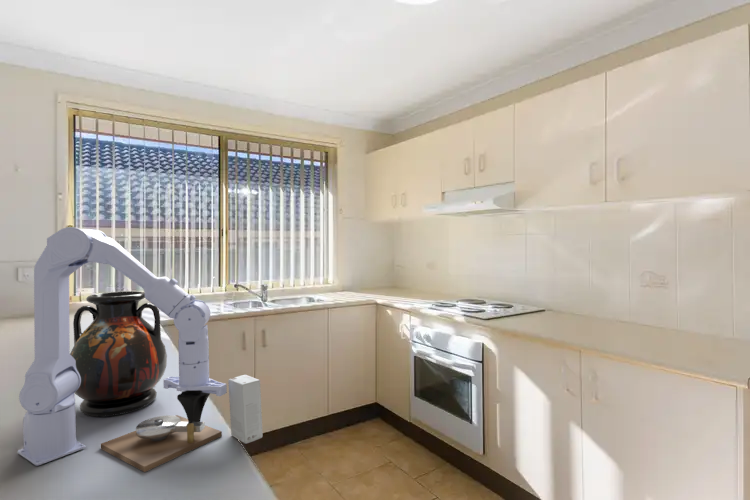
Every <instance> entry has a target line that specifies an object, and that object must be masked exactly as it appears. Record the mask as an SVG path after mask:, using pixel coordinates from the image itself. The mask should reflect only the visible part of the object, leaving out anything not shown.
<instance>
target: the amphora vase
mask: <svg viewBox="0 0 750 500" xmlns="http://www.w3.org/2000/svg"><path fill="white" fill-rule="evenodd" d="M144 299H145V293H144V291H138V290H137V291H133V290H132V291H131V290H130V291H129V290H126V291H111V292H103V293H102V292H101V293H94V294H91V295H88V296H87V297H86V298H85V300H86V302H88V303H90V304H93V305H95V308H94V306H91V305H82V306H80V307H79V308H78V309H77V310H76V312H74V315H73V322H72V325H73V327H72V329H73V345H74V346H73V347H72V349H71V350H70V355H71V356H72V357H73V358H74V359H75V360H76V369H77V371H78V372H79V374H80V376H81V384H80V387H79V388H78V390H77V391H76V392H75V393H74V395H76V396H77V397H79V398H80V399H82V401H81V402H80V404H79V410H80V412H81V413H83V414H84V415H87V416H91V417H101V418H102V417H113V416H119V415H120V416H121V415H124V414H128V413H131V412H134V411H138V410H140V409H142V408H145V407H146V406H148V405H150V404H151V403H152V402H154V401H155V400H156V399H157V393H158V392H157V391H156V389H155V388H154V387H156V386H157V384H158V383H159V382H160V381H161V380H162V378H163V376H164V373H165V372H166V369H167V368H166V367H167V364H168V363H167V359H168V354H167V350H166V346H165V344H164V342H163V340H162V338H161V336H162V333H161V331H162V330H161V315H160V314H161V313H160V309H158V308H157V307H156V306H154V305H153V304H152V303H151V302H145V303H142V304H141V305H140V306H139V303H140V302H141V300H144ZM145 309H150V310H151V311H152V312H153V318H154V322H153V323H154V324H153V325H154V327H153V326H152V325H151V324H150V323H149V322H148V321H146V319H144V318H143V317H142V315H143V311H144V310H145ZM86 311H87V312H89V313H90V314H91V316H92V320H93V321H92V322H91V323H90V324H89V326H88V327H86V328H85V330H84V331H83V332H82V325H81V324H82V323H81V320H82V315H83V313H84V312H86Z"/></svg>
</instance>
